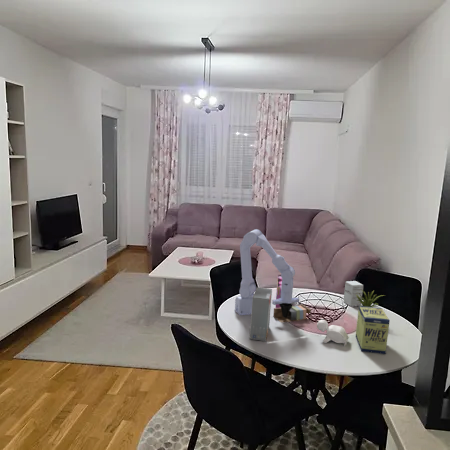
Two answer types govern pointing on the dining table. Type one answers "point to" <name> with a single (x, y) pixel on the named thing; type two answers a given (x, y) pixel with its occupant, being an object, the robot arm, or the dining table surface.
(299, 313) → the olive book
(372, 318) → the protein box
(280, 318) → the shelf
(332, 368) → the dining table surface
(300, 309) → the blue book
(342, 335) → the white animal figurine
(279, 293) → the gum box
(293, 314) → the bookend
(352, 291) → the supplement box
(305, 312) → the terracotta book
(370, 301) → the house plant
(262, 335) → the hard drive box
